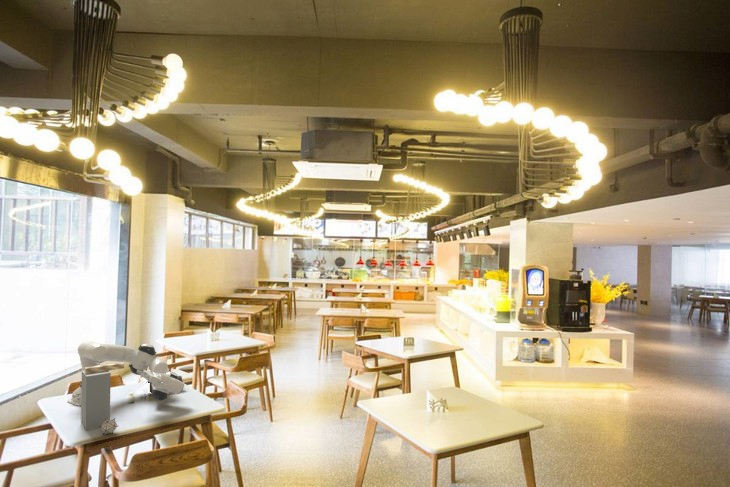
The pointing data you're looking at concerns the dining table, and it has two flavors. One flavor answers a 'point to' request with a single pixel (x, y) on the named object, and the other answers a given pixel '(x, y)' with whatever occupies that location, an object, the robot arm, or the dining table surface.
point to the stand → (95, 399)
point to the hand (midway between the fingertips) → (139, 372)
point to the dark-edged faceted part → (108, 426)
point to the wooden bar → (104, 368)
